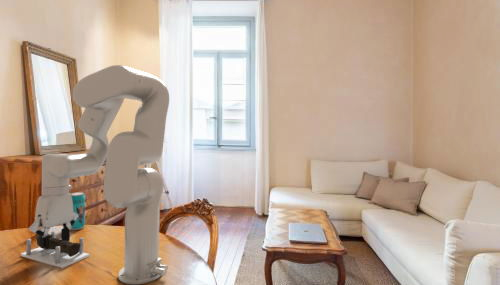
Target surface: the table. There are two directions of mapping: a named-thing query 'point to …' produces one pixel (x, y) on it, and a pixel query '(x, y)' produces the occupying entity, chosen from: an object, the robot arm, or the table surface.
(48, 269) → the table surface
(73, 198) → the beverage can
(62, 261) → the peg rack
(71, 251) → the dark brown rough rod
